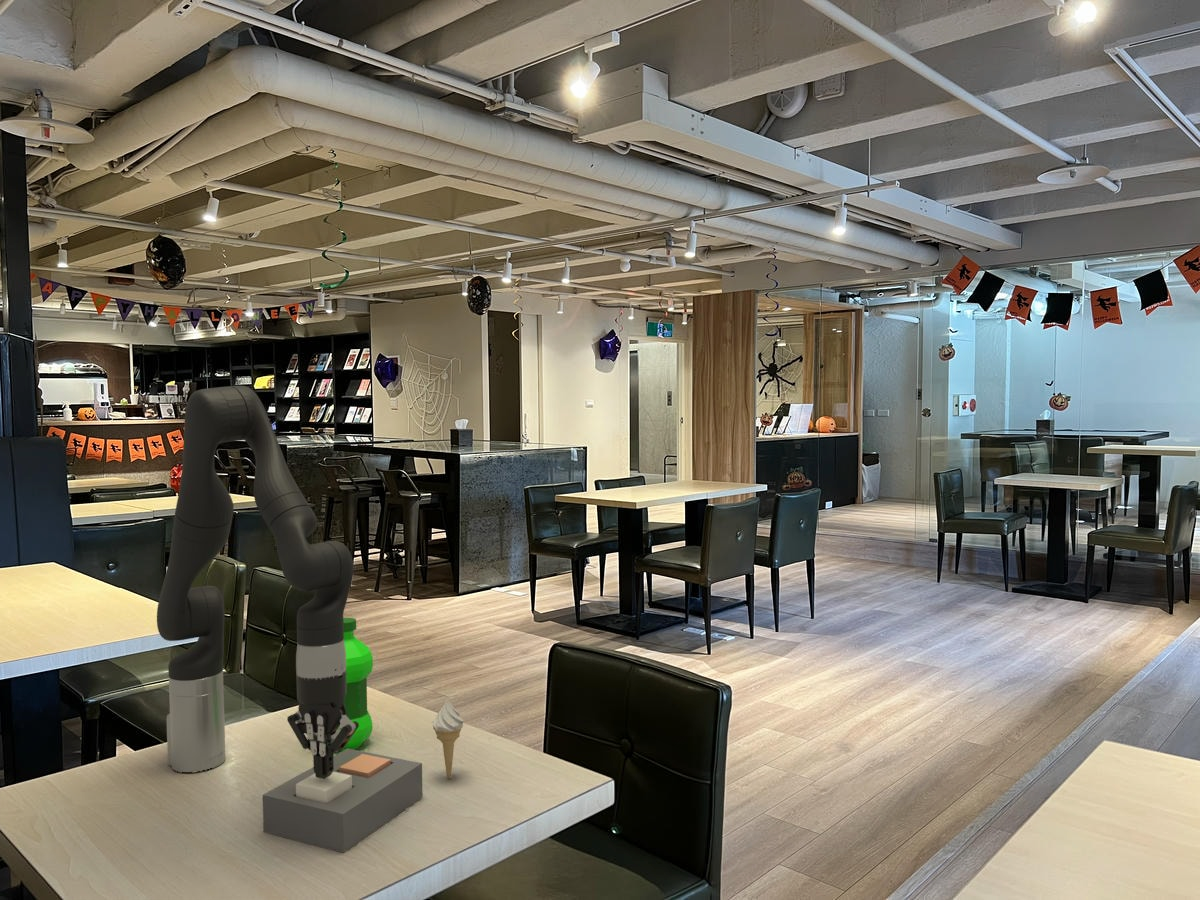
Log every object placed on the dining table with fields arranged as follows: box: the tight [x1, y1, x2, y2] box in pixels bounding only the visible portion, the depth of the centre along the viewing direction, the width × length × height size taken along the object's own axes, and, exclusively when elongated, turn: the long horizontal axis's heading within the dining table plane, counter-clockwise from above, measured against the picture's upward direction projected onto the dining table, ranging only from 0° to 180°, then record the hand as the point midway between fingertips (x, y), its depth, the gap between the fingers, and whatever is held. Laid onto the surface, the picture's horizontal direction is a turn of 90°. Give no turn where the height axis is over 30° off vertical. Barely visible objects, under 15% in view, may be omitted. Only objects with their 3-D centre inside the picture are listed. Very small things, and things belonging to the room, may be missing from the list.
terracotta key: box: [339, 754, 391, 778], centre depth 148 cm, size 6×6×3 cm
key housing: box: [261, 748, 423, 854], centre depth 144 cm, size 16×20×6 cm
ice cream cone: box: [431, 696, 464, 780], centre depth 157 cm, size 6×6×15 cm
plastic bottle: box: [338, 617, 374, 752], centre depth 172 cm, size 10×10×25 cm
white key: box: [296, 772, 352, 804], centre depth 139 cm, size 6×6×3 cm
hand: (323, 776), depth 139 cm, fingers closed
